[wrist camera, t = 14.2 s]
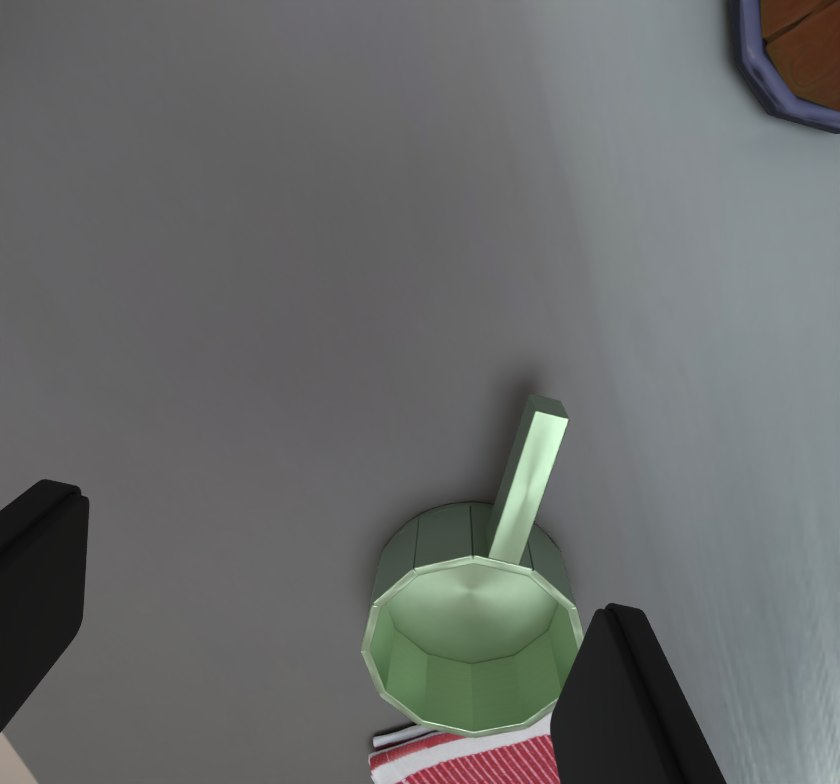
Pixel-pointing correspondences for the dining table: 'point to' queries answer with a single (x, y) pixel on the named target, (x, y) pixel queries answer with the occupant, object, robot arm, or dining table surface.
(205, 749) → the dining table surface
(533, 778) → the dish towel
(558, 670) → the green saucepan
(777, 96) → the mug
